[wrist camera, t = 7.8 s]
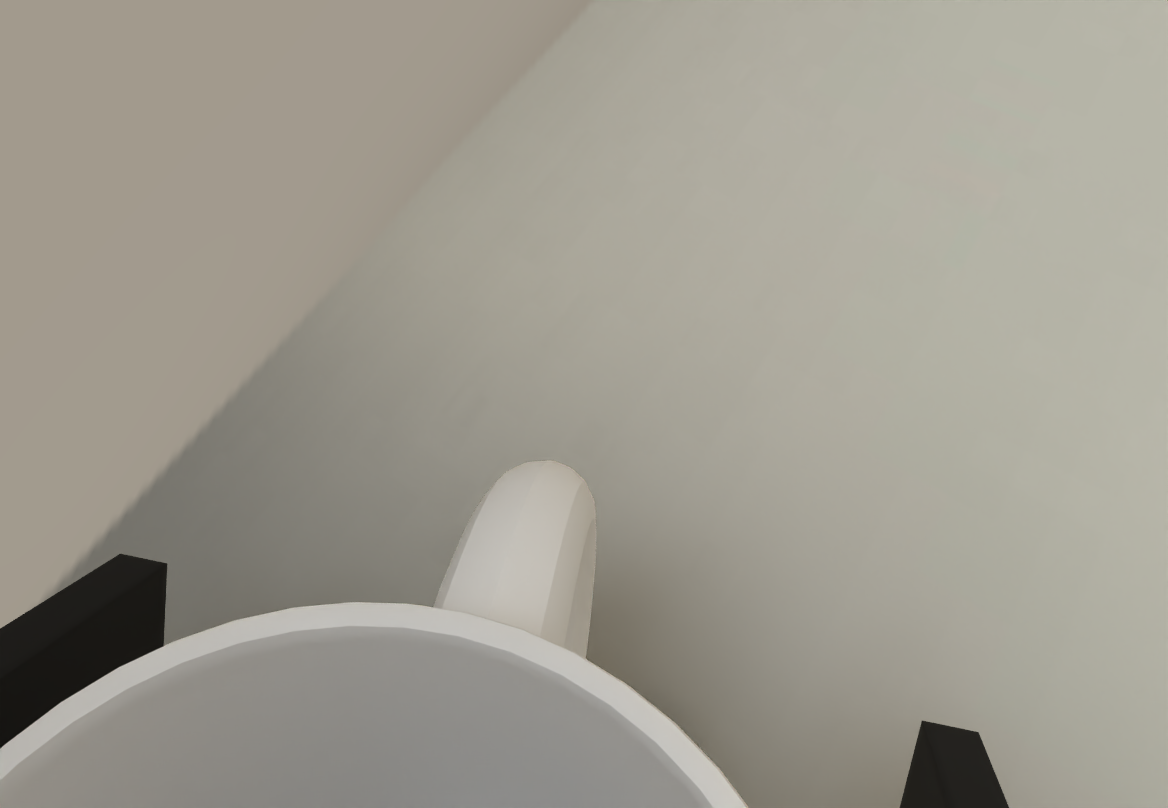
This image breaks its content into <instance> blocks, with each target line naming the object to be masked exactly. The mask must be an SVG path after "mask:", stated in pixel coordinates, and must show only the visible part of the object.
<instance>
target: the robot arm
mask: <svg viewBox="0 0 1168 808" xmlns="http://www.w3.org/2000/svg"><path fill="white" fill-rule="evenodd" d="M166 579H167V563H162V562H157V561H153V560H148V559H143V558H138V557H133V556H129V555H124V554H119V555H118V556H116V557H114V558H113V559H111V560H110V561H108V562H106V563H105V564H103V565H102V566H100V567H98V568H97V569H95V570H94V571H92V572H90V573H89V574H87V575H86V576H84V577H82V578H81V579H79V580H78V581H76V582H74V583H73V584H71V585H70V586H68V587H66V588H65V589H63V590H62V591H60V592H58V593H57V594H55V595H54V596H52V597H50V598H49V599H47V600H46V601H44V602H42V603H41V604H39V605H37V606H36V607H34V608H33V609H31V610H29V611H28V612H26V613H25V614H23V615H21V616H20V617H18V618H17V619H15V620H13V621H12V622H10V623H9V624H7V625H5V626H4V627H2V628H1V629H0V748H2V747H3V746H4V745H5V744H6V743H8V742H9V741H10V740H12V739H13V738H14V737H16V736H17V735H18V734H20V733H21V732H22V731H24V730H25V729H26V728H28V727H29V726H30V725H32V724H33V723H34V722H35V721H37V720H38V719H39V718H41V717H42V716H43V715H45V714H46V713H47V712H49V711H50V710H51V709H53V708H54V707H55V706H57V705H58V704H59V703H61V702H62V701H64V700H66V699H67V698H69V697H71V696H72V695H74V694H76V693H77V692H79V691H81V690H82V689H84V688H86V687H87V686H89V685H90V684H92V683H94V682H95V681H97V680H99V679H100V678H102V677H104V676H105V675H107V674H109V673H110V672H112V671H114V670H115V669H117V668H119V667H121V666H123V665H125V664H127V663H129V662H131V661H134V660H136V659H138V658H140V657H142V656H144V655H146V654H148V653H150V652H153V651H155V650H157V649H159V648H161V647H163V645H164V623H165V601H166ZM900 808H1009V807H1008V804H1007V802H1006V799H1005V797H1004V794H1003V792H1002V789H1001V787H1000V784H999V782H998V779H997V777H996V775H995V772H994V770H993V767H992V765H991V762H990V760H989V757H988V755H987V752H986V750H985V747H984V745H983V742H982V740H981V738H980V735H979V733H978V732H974V731H970V730H965V729H960V728H955V727H950V726H945V725H941V724H936V723H931V722H926V721H922V723H921V727H920V731H919V734H918V738H917V742H916V746H915V750H914V754H913V758H912V762H911V766H910V770H909V774H908V777H907V781H906V785H905V789H904V793H903V797H902V801H901V805H900Z"/></svg>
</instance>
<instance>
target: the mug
mask: <svg viewBox="0 0 1168 808" xmlns="http://www.w3.org/2000/svg"><path fill="white" fill-rule="evenodd" d="M595 562H596V508H595V501H594V499H593V497H592V495H591V492H590V490H589V488H588V486H587V483H586V481H585V480H584V479H583V478H582V477H581V476H580V475H579V474H577V473H576V472H575V471H574V470H573V469H572V468H571V467H569V466H566V465H564V464H561V463H558V462H556V461H553V460H548V461H530V462H525V463H523V464H521V465H518V466H516V467H514V468H512V469H509V470H508V471H507V472H505V473H504V474H503V475H502V476H501V477H500V478H499V479H498V480H497V481H496V482H495V483H494V485H493V486H492V487H491V488H490V489H489V490H488V491H487V492H486V493H485V495H484V496H483V498H482V499H481V501H480V502H479V504H478V505H477V507H476V508H475V510H474V512H473V514H472V516H471V518H470V520H469V522H468V524H467V526H466V528H465V530H464V532H463V534H462V536H461V539H460V541H459V543H458V545H457V548H456V550H455V552H454V555H453V557H452V559H451V562H450V564H449V567H448V569H447V572H446V574H445V577H444V580H443V582H442V585H441V587H440V590H439V592H438V595H437V598H436V600H435V603H434V605H433V607H428V606H422V605H416V604H401V603H367V602H349V603H338V604H327V605H316V606H306V607H295V608H289V609H285V610H280V611H276V612H271V613H266V614H262V615H257V616H252V617H248V618H243V619H238V620H234V621H231V622H228V623H225V624H223V625H220V626H217V627H214V628H211V629H208V630H205V631H202V632H199V633H196V634H193V635H190V636H188V637H185V638H182V639H179V640H176V641H174V642H172V643H170V644H167V645H165V646H163V647H161V648H159V649H157V650H155V651H153V652H150V653H148V654H146V655H144V656H142V657H140V658H138V659H136V660H134V661H131V662H129V663H127V664H125V665H123V666H121V667H119V668H117V669H115V670H114V671H112V672H110V673H109V674H107V675H105V676H104V677H102V678H100V679H99V680H97V681H95V682H94V683H92V684H90V685H89V686H87V687H86V688H84V689H82V690H81V691H79V692H77V693H76V694H74V695H72V696H71V697H69V698H67V699H66V700H64V701H62V702H61V703H59V704H58V705H57V706H55V707H54V708H53V709H51V710H50V711H49V712H47V713H46V714H45V715H43V716H42V717H41V718H39V719H38V720H37V721H35V722H34V723H33V724H32V725H30V726H29V727H28V728H26V729H25V730H24V731H22V732H21V733H20V734H18V735H17V736H16V737H14V738H13V739H12V740H10V741H9V742H8V743H6V744H5V745H4V746H3V747H2V748H0V808H749V807H748V806H747V804H746V803H745V802H744V800H743V799H742V798H741V796H740V795H739V794H738V792H737V791H736V790H735V788H734V787H733V786H732V784H731V783H730V782H729V780H728V779H727V778H726V776H725V775H724V774H723V772H722V771H721V770H720V769H719V768H718V767H717V766H716V764H715V763H714V762H713V761H712V760H711V759H710V758H709V757H708V756H707V755H706V754H705V753H704V752H703V751H702V750H701V749H700V748H699V747H698V746H697V745H696V744H695V743H694V742H693V741H692V740H691V739H690V737H689V736H688V735H687V734H686V733H685V732H684V731H683V730H682V729H681V728H680V727H679V726H678V725H677V724H676V723H675V722H674V721H672V720H671V719H670V718H669V717H667V716H666V715H665V714H664V713H663V712H661V711H660V710H659V709H658V708H656V707H655V706H654V705H653V704H651V703H650V702H649V701H648V700H646V699H645V698H644V697H643V696H641V695H640V694H639V693H638V692H636V691H635V690H634V689H633V688H631V687H630V686H629V685H628V684H626V683H625V682H623V681H621V680H620V679H618V678H616V677H615V676H613V675H611V674H610V673H608V672H607V671H605V670H603V669H602V668H600V667H598V666H597V665H595V664H593V663H592V662H590V661H589V660H587V659H586V652H587V645H588V636H589V628H590V619H591V609H592V600H593V588H594V577H595Z"/></svg>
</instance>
